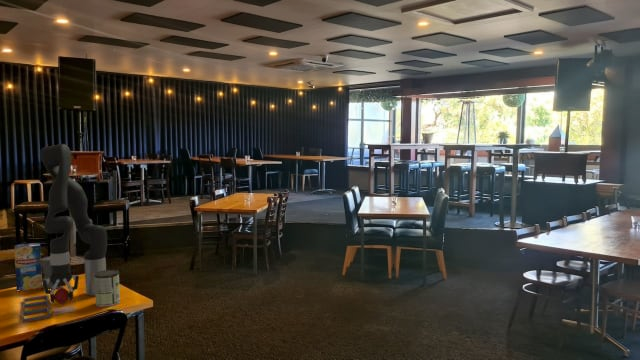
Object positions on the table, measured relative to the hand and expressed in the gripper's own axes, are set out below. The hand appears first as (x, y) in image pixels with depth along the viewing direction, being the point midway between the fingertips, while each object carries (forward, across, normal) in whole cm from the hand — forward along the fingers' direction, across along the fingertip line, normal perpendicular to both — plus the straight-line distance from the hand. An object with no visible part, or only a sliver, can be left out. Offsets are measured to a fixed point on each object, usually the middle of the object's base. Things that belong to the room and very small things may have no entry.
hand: (61, 300), depth 206 cm
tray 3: (+5, +10, +1) cm, 11 cm away
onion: (+2, 0, 0) cm, 2 cm away
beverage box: (+5, +11, -48) cm, 49 cm away
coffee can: (+5, -18, -1) cm, 19 cm away
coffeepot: (+5, 0, -43) cm, 43 cm away
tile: (+5, 0, 0) cm, 5 cm away
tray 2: (+5, +9, -10) cm, 14 cm away
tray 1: (+5, +9, -20) cm, 23 cm away
